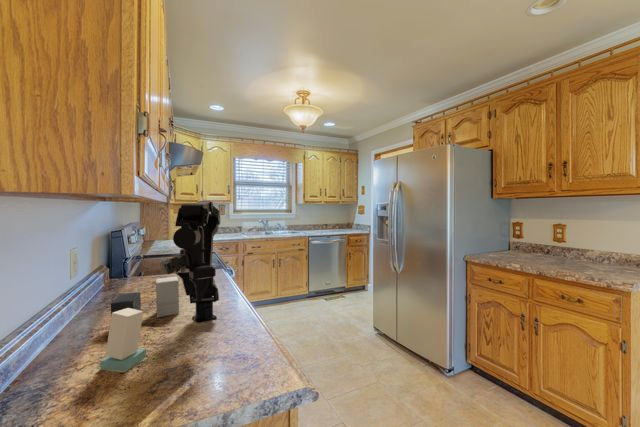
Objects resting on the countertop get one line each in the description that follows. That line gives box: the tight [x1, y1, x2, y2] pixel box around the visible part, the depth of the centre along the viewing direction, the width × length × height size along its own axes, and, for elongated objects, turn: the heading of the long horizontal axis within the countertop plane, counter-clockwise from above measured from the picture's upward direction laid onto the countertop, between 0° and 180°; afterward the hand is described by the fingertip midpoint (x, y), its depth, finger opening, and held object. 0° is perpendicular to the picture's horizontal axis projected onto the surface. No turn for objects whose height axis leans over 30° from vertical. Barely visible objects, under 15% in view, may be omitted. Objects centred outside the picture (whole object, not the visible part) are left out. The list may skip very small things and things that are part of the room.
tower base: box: [100, 356, 149, 373], centre depth 71 cm, size 7×7×2 cm
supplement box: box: [155, 276, 180, 318], centre depth 110 cm, size 7×7×13 cm
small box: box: [110, 291, 142, 317], centre depth 95 cm, size 11×6×10 cm, turn 21°
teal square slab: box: [99, 348, 147, 372], centre depth 71 cm, size 6×6×2 cm
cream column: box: [105, 308, 144, 360], centre depth 71 cm, size 4×4×10 cm
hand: (193, 298), depth 88 cm, fingers open, 9 cm apart
